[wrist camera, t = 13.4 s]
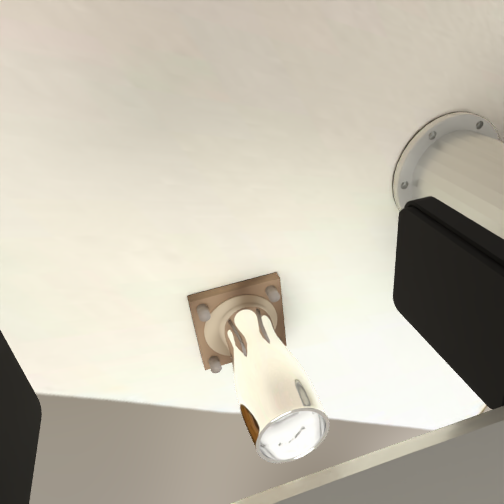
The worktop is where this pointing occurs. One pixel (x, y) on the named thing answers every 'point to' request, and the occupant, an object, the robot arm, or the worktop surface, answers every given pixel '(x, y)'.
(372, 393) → the worktop surface
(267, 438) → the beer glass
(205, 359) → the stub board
